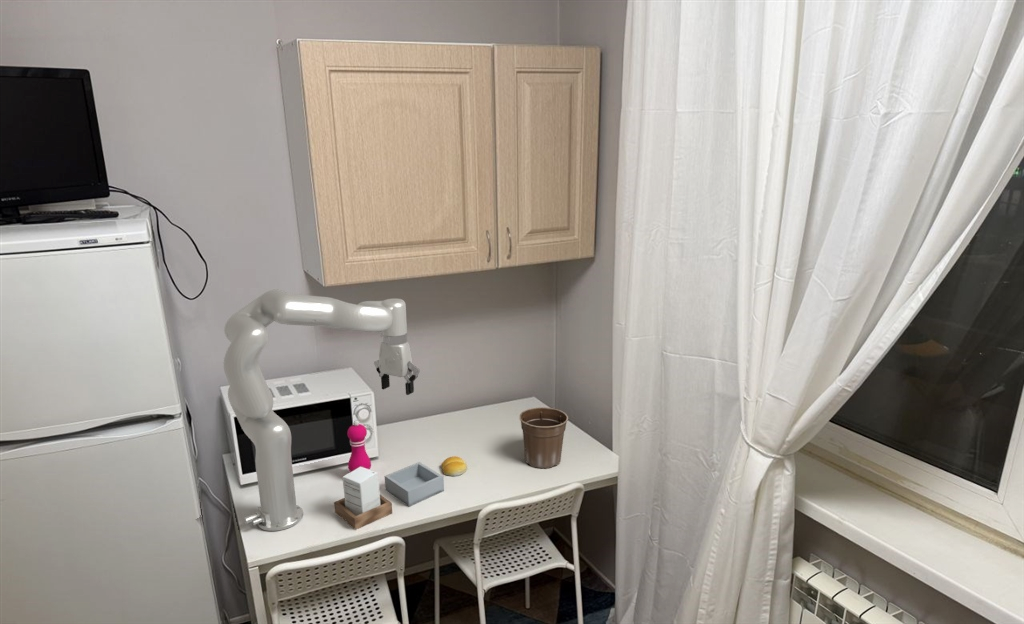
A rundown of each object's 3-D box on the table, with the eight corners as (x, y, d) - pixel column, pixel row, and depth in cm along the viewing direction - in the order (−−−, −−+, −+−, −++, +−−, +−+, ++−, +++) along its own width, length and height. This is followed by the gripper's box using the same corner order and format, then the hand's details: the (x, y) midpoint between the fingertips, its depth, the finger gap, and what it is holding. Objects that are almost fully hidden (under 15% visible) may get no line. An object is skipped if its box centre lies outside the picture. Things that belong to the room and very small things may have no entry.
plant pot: (565, 449, 225) (566, 406, 221) (569, 472, 209) (569, 426, 205) (519, 449, 225) (519, 406, 221) (519, 472, 209) (519, 426, 205)
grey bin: (409, 506, 190) (408, 491, 189) (385, 490, 199) (384, 475, 198) (444, 490, 198) (443, 476, 197) (419, 475, 208) (419, 461, 206)
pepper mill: (376, 475, 208) (372, 418, 203) (361, 485, 202) (356, 427, 197) (360, 470, 212) (355, 414, 207) (344, 479, 206) (339, 422, 201)
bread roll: (444, 479, 206) (444, 467, 205) (440, 466, 214) (439, 455, 213) (469, 475, 208) (469, 464, 207) (464, 462, 216) (464, 452, 215)
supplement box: (363, 503, 192) (360, 465, 189) (381, 511, 188) (378, 472, 185) (345, 515, 186) (341, 476, 183) (363, 523, 182) (360, 483, 179)
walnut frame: (355, 529, 179) (354, 518, 178) (334, 512, 187) (333, 502, 186) (392, 513, 187) (391, 502, 186) (370, 497, 195) (370, 487, 194)
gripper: (365, 338, 198) (368, 389, 203) (409, 345, 190) (412, 399, 194) (381, 332, 205) (384, 382, 209) (424, 339, 196) (426, 391, 201)
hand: (397, 390), depth 202 cm, fingers open, 9 cm apart
